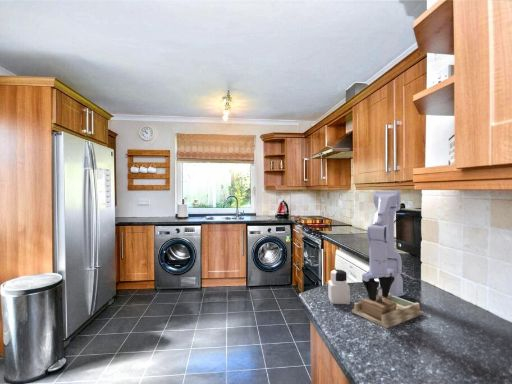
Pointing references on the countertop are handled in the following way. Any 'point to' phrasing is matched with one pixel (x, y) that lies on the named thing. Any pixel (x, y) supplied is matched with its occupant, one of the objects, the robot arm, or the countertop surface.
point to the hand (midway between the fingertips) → (378, 298)
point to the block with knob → (377, 305)
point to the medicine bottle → (338, 288)
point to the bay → (392, 312)
